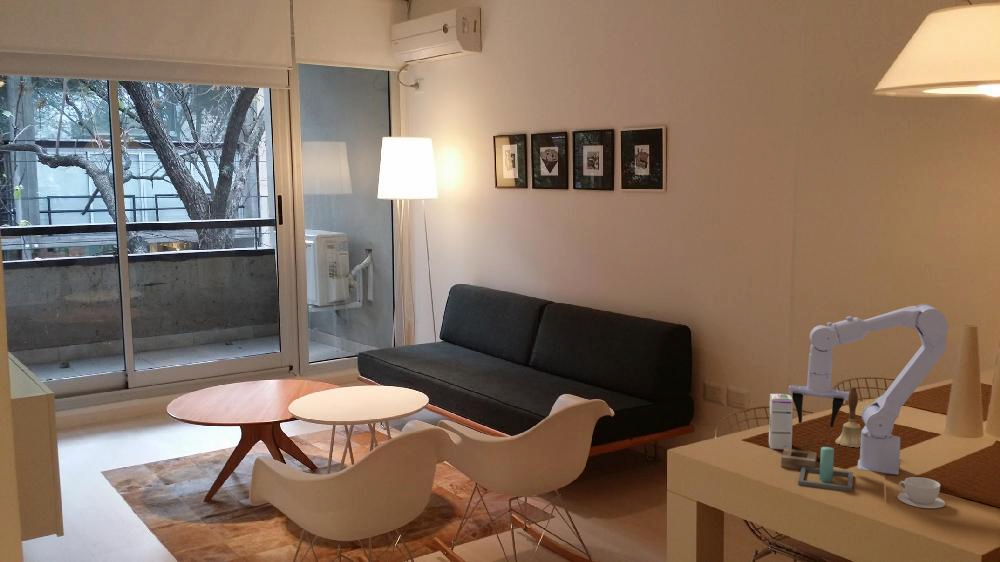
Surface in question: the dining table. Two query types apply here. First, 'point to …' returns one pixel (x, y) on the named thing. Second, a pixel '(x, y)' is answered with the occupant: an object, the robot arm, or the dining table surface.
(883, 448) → the robot arm
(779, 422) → the syrup box
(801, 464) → the block
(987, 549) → the dining table surface
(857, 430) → the hand bell
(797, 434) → the dining table surface
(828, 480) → the dowel
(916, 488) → the teacup
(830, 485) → the tray
